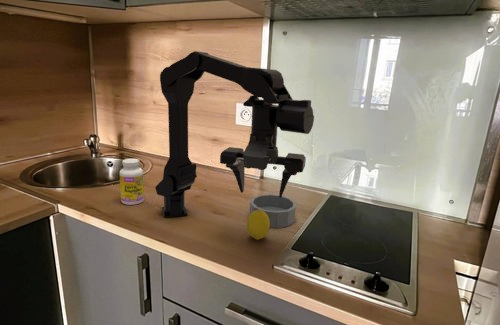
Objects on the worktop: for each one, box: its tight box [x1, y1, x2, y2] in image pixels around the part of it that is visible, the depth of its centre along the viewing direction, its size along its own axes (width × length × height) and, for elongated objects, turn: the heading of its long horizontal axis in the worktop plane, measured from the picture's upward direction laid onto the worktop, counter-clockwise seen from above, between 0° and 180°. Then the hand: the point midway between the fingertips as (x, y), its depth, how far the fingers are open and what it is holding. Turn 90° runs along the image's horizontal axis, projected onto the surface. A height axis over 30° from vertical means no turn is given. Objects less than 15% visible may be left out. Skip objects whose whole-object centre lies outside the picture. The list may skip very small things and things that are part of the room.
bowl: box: [248, 193, 297, 229], centre depth 91 cm, size 13×13×4 cm
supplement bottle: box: [119, 158, 145, 206], centre depth 96 cm, size 7×7×13 cm
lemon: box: [246, 209, 271, 241], centre depth 78 cm, size 6×6×8 cm
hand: (261, 194), depth 75 cm, fingers open, 9 cm apart
